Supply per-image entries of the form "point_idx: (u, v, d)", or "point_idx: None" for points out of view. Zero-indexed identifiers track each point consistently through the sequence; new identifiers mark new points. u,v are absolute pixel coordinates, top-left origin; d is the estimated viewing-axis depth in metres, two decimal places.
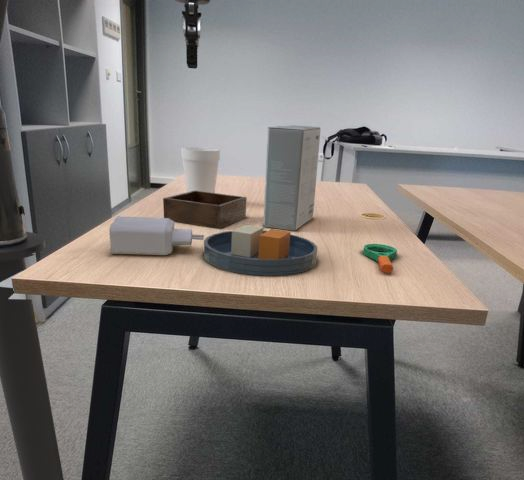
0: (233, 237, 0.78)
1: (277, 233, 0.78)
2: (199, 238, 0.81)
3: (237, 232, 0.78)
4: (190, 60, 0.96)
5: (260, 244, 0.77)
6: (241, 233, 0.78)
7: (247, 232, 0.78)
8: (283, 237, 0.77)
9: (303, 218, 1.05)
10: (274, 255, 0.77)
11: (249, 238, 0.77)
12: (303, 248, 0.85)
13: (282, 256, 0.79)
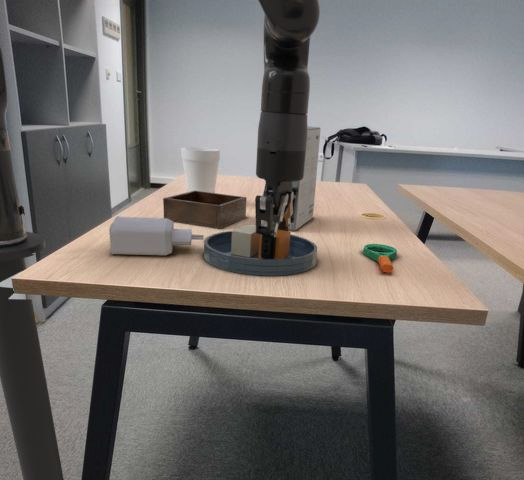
0: (233, 237, 0.78)
1: (277, 233, 0.78)
2: (199, 238, 0.81)
3: (237, 232, 0.78)
4: (264, 254, 0.76)
5: (260, 244, 0.77)
6: (241, 233, 0.78)
7: (247, 232, 0.78)
8: (283, 237, 0.77)
9: (303, 218, 1.05)
10: None
11: (249, 238, 0.77)
12: (303, 248, 0.85)
13: (282, 256, 0.79)
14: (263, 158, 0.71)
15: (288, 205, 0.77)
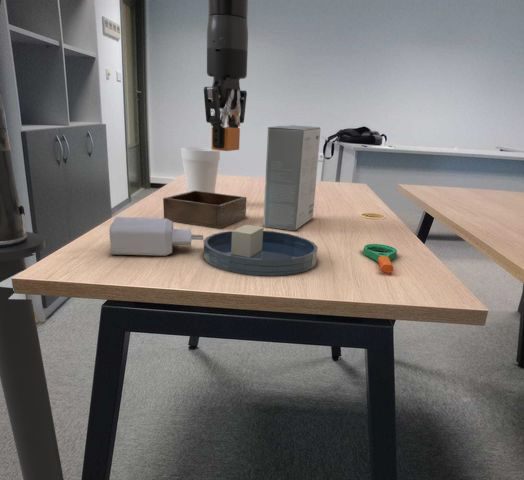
0: (233, 237, 0.78)
1: None
2: (199, 238, 0.81)
3: (237, 232, 0.78)
4: (215, 143, 0.91)
5: (212, 135, 0.92)
6: (241, 233, 0.78)
7: (247, 232, 0.78)
8: (231, 129, 0.92)
9: (303, 218, 1.05)
10: (224, 145, 0.92)
11: (249, 238, 0.77)
12: (303, 248, 0.85)
13: (232, 147, 0.93)
14: (210, 56, 0.85)
15: (235, 102, 0.92)
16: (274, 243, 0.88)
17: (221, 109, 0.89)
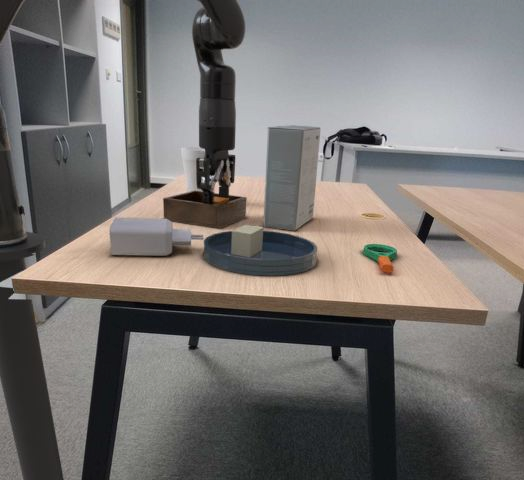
0: (233, 237, 0.78)
1: (218, 199, 1.03)
2: (199, 238, 0.81)
3: (237, 232, 0.78)
4: None
5: None
6: (241, 233, 0.78)
7: (247, 232, 0.78)
8: (221, 201, 1.02)
9: (303, 218, 1.05)
10: None
11: (249, 238, 0.77)
12: (303, 248, 0.85)
13: None
14: (202, 132, 0.95)
15: (225, 169, 1.01)
16: (274, 243, 0.88)
17: None
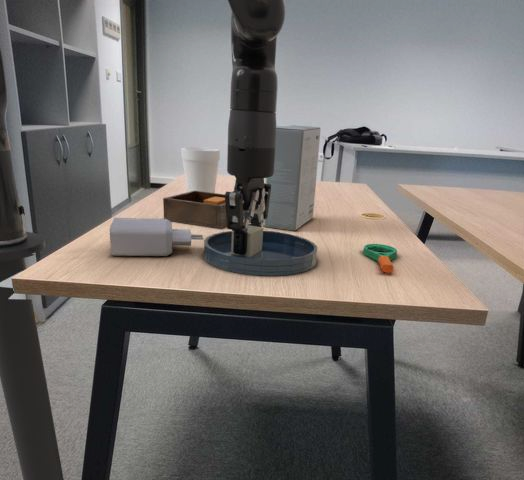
0: (233, 237, 0.78)
1: (218, 199, 1.03)
2: (199, 238, 0.81)
3: None
4: (236, 249, 0.78)
5: None
6: None
7: None
8: (221, 201, 1.02)
9: (303, 218, 1.05)
10: None
11: (249, 238, 0.77)
12: (303, 248, 0.85)
13: None
14: (232, 155, 0.72)
15: (260, 201, 0.78)
16: (274, 243, 0.88)
17: (244, 213, 0.76)
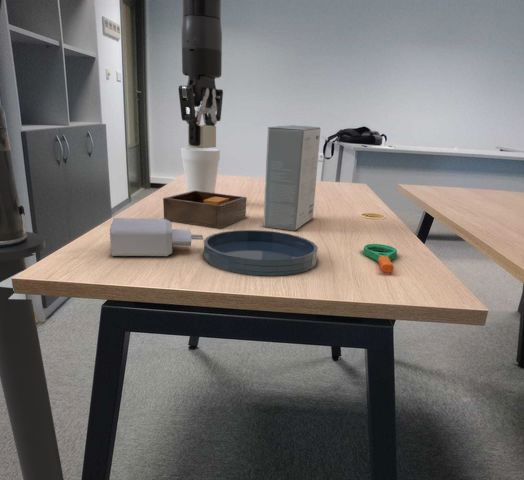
0: None
1: (218, 199, 1.03)
2: (198, 238, 0.81)
3: None
4: (191, 140, 0.93)
5: None
6: None
7: (200, 126, 0.93)
8: (221, 201, 1.02)
9: (303, 218, 1.05)
10: None
11: (202, 130, 0.93)
12: (303, 248, 0.85)
13: None
14: (185, 55, 0.88)
15: (211, 101, 0.94)
16: (274, 243, 0.88)
17: (196, 107, 0.91)
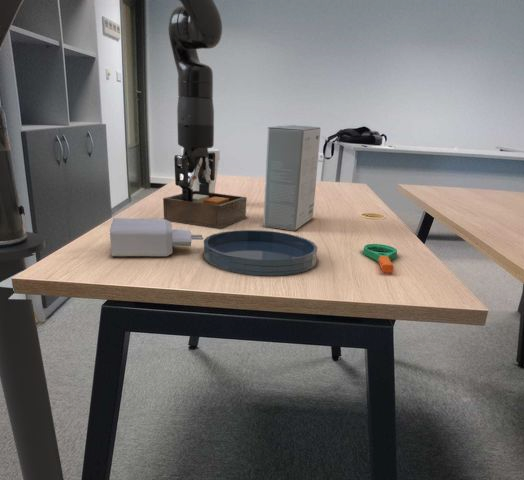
0: None
1: (218, 199, 1.03)
2: (198, 238, 0.81)
3: None
4: None
5: None
6: None
7: (195, 198, 1.03)
8: (221, 201, 1.02)
9: (303, 218, 1.05)
10: None
11: None
12: (303, 248, 0.85)
13: None
14: (180, 130, 0.96)
15: (205, 167, 1.03)
16: (274, 243, 0.88)
17: None
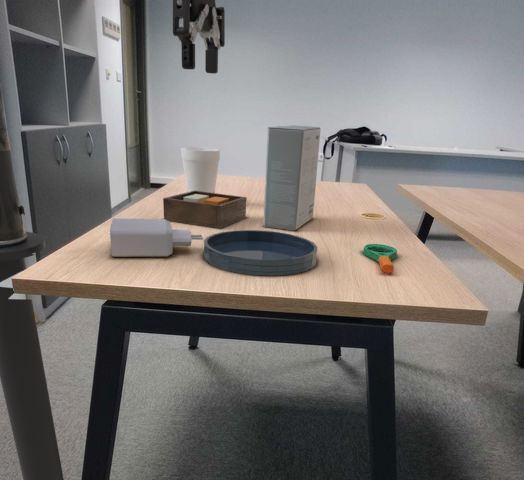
0: None
1: (218, 199, 1.03)
2: (198, 238, 0.81)
3: (187, 198, 1.03)
4: (184, 62, 0.79)
5: None
6: (190, 199, 1.03)
7: (195, 198, 1.03)
8: (221, 201, 1.02)
9: (303, 218, 1.05)
10: None
11: None
12: (303, 248, 0.85)
13: None
14: None
15: (212, 23, 0.81)
16: (274, 243, 0.88)
17: None
